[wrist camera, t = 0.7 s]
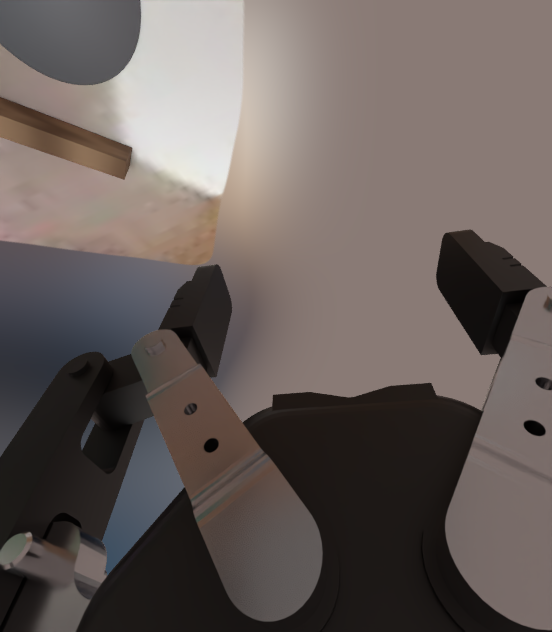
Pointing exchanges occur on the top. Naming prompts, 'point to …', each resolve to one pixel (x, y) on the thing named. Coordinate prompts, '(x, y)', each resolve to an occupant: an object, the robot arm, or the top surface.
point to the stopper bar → (62, 139)
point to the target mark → (71, 36)
